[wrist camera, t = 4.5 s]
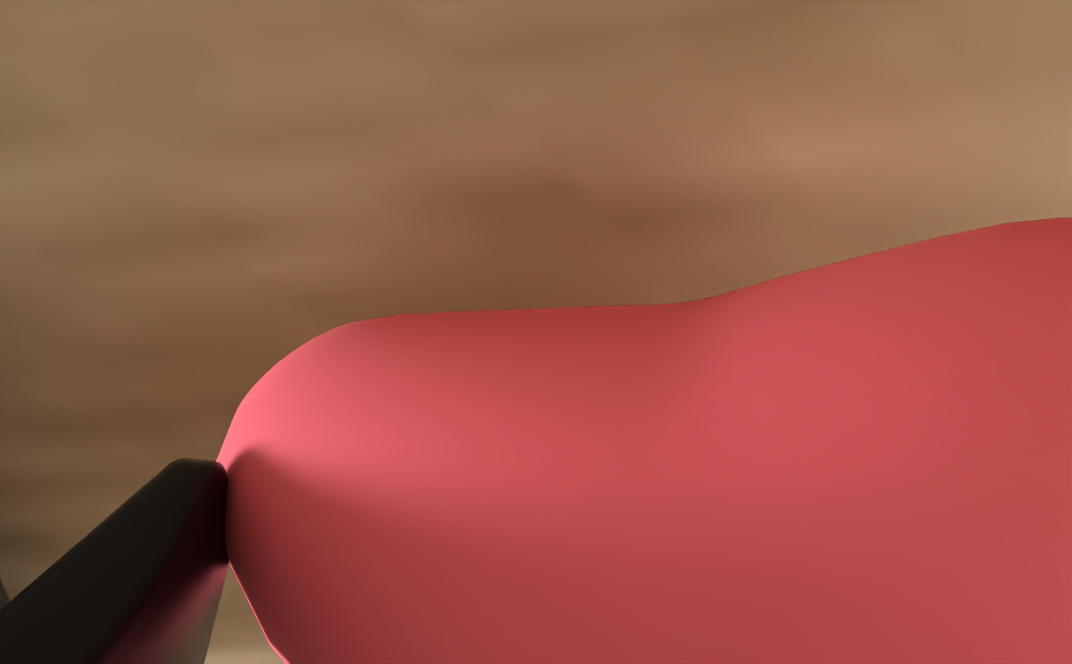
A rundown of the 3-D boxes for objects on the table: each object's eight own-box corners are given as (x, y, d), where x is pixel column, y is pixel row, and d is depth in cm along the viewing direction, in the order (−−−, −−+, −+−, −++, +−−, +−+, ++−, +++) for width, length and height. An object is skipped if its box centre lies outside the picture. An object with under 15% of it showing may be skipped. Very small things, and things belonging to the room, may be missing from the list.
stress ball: (924, 512, 14) (1419, 840, 8) (289, 692, 12) (311, 1309, 6) (916, 149, 12) (1522, 215, 6) (185, 289, 10) (75, 572, 4)
